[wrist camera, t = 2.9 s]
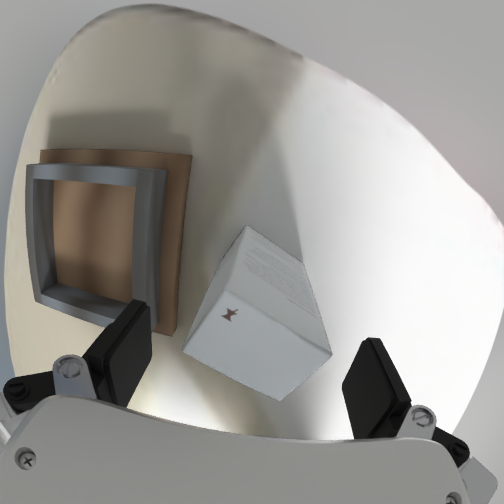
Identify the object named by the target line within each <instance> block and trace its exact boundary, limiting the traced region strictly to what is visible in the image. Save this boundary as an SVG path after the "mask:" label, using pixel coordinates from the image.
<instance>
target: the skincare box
mask: <svg viewBox="0 0 504 504" xmlns="http://www.w3.org/2000/svg"><path fill="white" fill-rule="evenodd" d="M182 351H183V352H184V353H185V354H187V355H189V356H191V357H192V358H194V359H196V360H198V361H200V362H202V363H203V364H205V365H207V366H209V367H210V368H212V369H214V370H216V371H218V372H220V373H222V374H224V375H226V376H228V377H229V378H231V379H233V380H235V381H237V382H239V383H241V384H243V385H245V386H248V387H250V388H252V389H254V390H256V391H258V392H260V393H262V394H264V395H267V396H269V397H271V398H273V399H275V400H277V401H281V400H283V399H284V398H285V397H286V396H287V395H288V394H290V393H291V392H292V391H293V390H294V389H295V388H296V387H298V386H299V385H300V384H301V383H302V382H304V381H305V380H306V379H307V378H308V377H309V376H310V375H312V374H313V373H314V372H315V371H316V370H317V369H318V368H319V367H321V366H322V365H323V364H324V363H325V362H326V361H327V360H328V359H330V358H331V356H332V351H331V348H330V345H329V342H328V338H327V335H326V332H325V328H324V325H323V322H322V319H321V316H320V312H319V309H318V306H317V303H316V299H315V297H314V294H313V290H312V287H311V285H310V281H309V278H308V275H307V272H306V269H305V266H304V264H302V263H301V262H300V261H298V260H297V259H295V258H294V257H292V256H291V255H290V254H288V253H287V252H285V251H284V250H282V249H281V248H279V247H278V246H277V245H275V244H274V243H272V242H271V241H269V240H268V239H266V238H265V237H263V236H262V235H260V234H259V233H258V232H256V231H255V230H253V229H252V228H250V227H249V226H245V228H244V229H243V230H242V232H241V233H240V235H239V236H238V237H237V239H236V240H235V242H234V243H233V244H232V246H231V247H230V249H229V250H228V252H227V253H226V255H225V256H224V258H223V259H222V261H221V262H220V264H219V266H218V268H217V270H216V272H215V274H214V277H213V279H212V281H211V283H210V286H209V288H208V290H207V292H206V295H205V297H204V299H203V301H202V304H201V306H200V308H199V310H198V313H197V315H196V317H195V319H194V322H193V324H192V326H191V329H190V331H189V333H188V336H187V338H186V340H185V342H184V345H183V347H182Z"/></svg>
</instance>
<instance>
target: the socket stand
mask: <svg viewBox="0 0 504 504" xmlns="http://www.w3.org/2000/svg"><path fill="white" fill-rule="evenodd" d="M191 161H192V156H191V155H182V154H172V153H160V152H147V151H130V150H106V149H50V150H41V151H40V162H39V164H29V165H27V166H26V188H25V214H26V235H27V248H28V258H29V266H30V274H31V280H32V287H33V292H34V298H35V301H36V302H38V303H40V304H43V305H45V306H48V307H50V308H52V309H55V310H58V311H60V312H63V313H65V314H68V315H71V316H73V317H76V318H79V319H81V320H84V321H87V322H90V323H93V324H96V325H99V326H102V327H105V328H106V327H107V326H108V325H109V324H110V323H113V322H114V321H115V320H116V318H117V317H118V316H119V315H120V314H121V313H122V311H123V310H124V309H125V308H126V307H127V306H128V304H129V303H130V302H131V301H132V300H133V299H136V300H141V301H145V302H146V303H147V306H150V313H151V333H152V332H156V333H160V334H164V335H168V336H172V335H173V334H174V332H175V330H176V327H177V303H178V285H179V270H180V257H181V246H182V235H183V225H184V215H185V206H186V198H187V190H188V182H189V175H190V168H191Z"/></svg>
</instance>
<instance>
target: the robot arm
mask: <svg viewBox="0 0 504 504" xmlns="http://www.w3.org/2000/svg"><path fill="white" fill-rule="evenodd" d="M151 358H152V341H151V313H150V306H147V303H146V302H145V301H141V300H136V299H133V300H132V301H131V302H130V303H129V304H128V306H127V307H126V308H125V309H124V310H123V311H122V313H121V314H120V315H119V316H118V317H117V318H116V320H115V321H114V322H113V323H110V324H109V325H108V326H107V327H106V328H105V329H104V330H103V332H102V333H101V334H100V335H99V336H98V338H97V339H96V340H95V341H94V342H93V344H92V345H91V346H90V347H89V349H88V350H87V351H86V352H85V354H84V355H83V356H82V357H80V356H77V355H64V356H62V357H60V358H58V359H57V360H56V361H55V362H54V364H53V371H48V372H43V373H37V374H32V375H26V376H20V377H15V378H12V379H10V380H9V381H8V382H7V383H6V384H5V386H4V388H3V392H1V393H0V504H488V503H489V501H490V499H491V498H492V496H493V494H494V493H495V491H496V489H497V484H498V483H497V479H496V477H495V476H494V475H493V474H492V473H491V472H490V471H489V470H487V469H486V468H485V467H484V466H483V465H482V464H481V463H480V462H479V461H478V460H476V459H475V458H474V457H472V458H469V455H470V451H469V448H468V446H467V444H466V443H465V442H463V441H462V440H460V439H458V438H456V437H454V436H453V435H451V434H449V433H447V432H445V431H443V430H442V429H440V428H438V427H436V421H437V420H436V416H435V414H434V412H433V411H432V410H431V409H429V408H428V407H426V406H423V405H415V406H412V405H411V403H410V402H411V398H410V396H409V394H408V392H407V390H406V388H405V386H404V384H403V382H402V380H401V378H400V376H399V374H398V372H397V370H396V368H395V366H394V364H393V362H392V360H391V358H390V356H389V354H388V352H387V350H386V349H385V347H384V345H383V343H382V341H381V339H379V338H369V337H368V338H367V339H366V340H364V341H362V343H361V345H360V347H359V350H358V352H357V354H356V356H355V358H354V360H353V363H352V365H351V367H350V369H349V371H348V373H347V375H346V377H345V379H344V381H343V383H342V392H343V395H344V399H345V403H346V407H347V411H348V415H349V419H350V423H351V427H352V432H353V436H354V440H300V439H283V438H270V437H260V436H251V435H243V434H236V433H230V432H223V431H218V430H212V429H207V428H201V427H197V426H192V425H187V424H183V423H179V422H175V421H171V420H167V419H163V418H159V417H156V416H152V415H148V414H145V413H141V412H138V411H135V410H131V409H128V408H126V407H127V405H128V403H129V401H130V399H131V397H132V395H133V393H134V391H135V389H136V387H137V386H138V384H139V382H140V380H141V378H142V376H143V374H144V372H145V370H146V368H147V366H148V364H149V363H150V361H151Z"/></svg>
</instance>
